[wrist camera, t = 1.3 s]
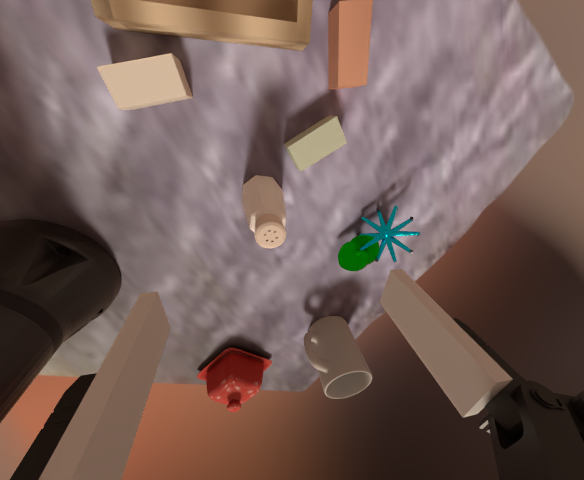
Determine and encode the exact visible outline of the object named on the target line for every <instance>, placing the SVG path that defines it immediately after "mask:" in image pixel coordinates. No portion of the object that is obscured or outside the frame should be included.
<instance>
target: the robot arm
mask: <svg viewBox="0 0 584 480" xmlns="http://www.w3.org/2000/svg"><path fill="white" fill-rule="evenodd" d="M120 287H121V276H120V272H119V269H118V267H117V265H116V264H115V262H114V260H113V259H112V258H111V257H110V255H109V254H108V253H107V252H106V251H105V250H104V249H103V248H101V247H100V246H99V245H98V244H96V243H95V242H93V241H92V240H90V239H89V238H87V237H85V236H83V235H81V234H79V233H77V232H75V231H73V230H70V229H68V228H65V227H62V226H59V225H56V224H52V223H47V222H42V221H35V220H8V221H2V222H0V423H1V421H2V420H3V419H4V418H5V416H6V415H7V414H8V412H9V411H10V410H11V409H12V407H13V406H14V405H15V403H16V402H17V401H18V400H19V398H20V397H21V396H22V394H23V393H24V392H25V390H26V389H27V388H28V386H29V385H30V384H31V383H32V382H33V380H34V379H35V378H36V376H37V375H38V374H39V373H40V371H41V370H42V369H43V367H44V366H45V365H46V364H47V362H48V361H49V360H50V358H51V357H52V356H53V354H54V353H55V352H56V350H57V349H58V348H59V347H60V345H61V344H62V343H63V342H64V341H66V340H67V339H68V338H70V337H71V336H72V335H74V334H75V333H77V332H78V331H79V330H81V329H82V328H83V327H85V326H86V325H87V324H88V323H89V322H90V321H92V320H94V319H95V318H97V317H98V316H100V315H101V314H102V313H103V312H105V311H106V309H107V308H108V307H109V306H110V305H111V303H112V302H113V300H114V299H115V297H116V296H117V294H118V293H119V290H120ZM380 303H381V305H382V306H383V307H384V309H385V310H386V312H387V313H388V314H389V316H390V317H391V319H392V320H393V321H394V323H395V324H396V325H397V327H398V328H399V330H400V331H401V332H402V334H403V335H404V337H405V338H406V339H407V341H408V342H409V344H410V345H411V346H412V348H413V349H414V350H415V352H416V353H417V355H418V356H419V357H420V358H421V360H422V362H423V363H424V364H425V366H426V367H427V368H428V370H429V371H430V372H431V374H432V375H433V377H434V378H435V380H436V381H437V382H438V384H439V385H440V387H441V388H442V389H443V391H444V392H445V394H446V395H447V396H448V398H449V399H450V400H451V402H452V403H453V404H454V406H455V407H456V409H457V410H458V411H459V413H460V414H461V416H462V417H467V416H471V415H475V414H478V413H479V412H480V411H481V410H482V409H483V408H484V407H485V408H486V409H487V410H488V411H489V414H488V415H487V416H485V417H484V418H483V420H481V421H480V422H479V428H481V429H483V428H484V427H485V426H486V425H487V424H489V428H488V429H487V432H488V433H490V434H491V439H492V445H493V450H494V455H495V460H496V465H497V471H498V476H499V480H584V391H582V392H581V393H579V394H578V395H577V396H568V395H563V394H557V393H553V392H552V391H550V390H549V389H548V388H546V387H544V386H543V385H541V384H539V383H536V382H533V381H526V380H525V379H524V378H522V377H521V376H520V375H519V374H518V373H517V372H516V371H515V370H514V369H513V368H512V367H510V366H509V365H508V364H507V363H506V362H505V361H504V360H503V359H502V358H501V357H500V356H499V355H498V354H497V353H496V352H495V351H494V350H493V349H491V348H490V347H489V346H488V345H486V343H485V342H484V341H483V340H482V339H481V338H480V337H478V335H477V334H476V333H475V332H474V331H473V330H472V329H471V328H470V327H468V326H467V325H466V324H464V323H463V322H461V321H460V320H458V319H456V318H454V319H452V318H451V317H450V316H449V315H448V314H447V313H446V312H445V311H444V310H443V309H442V308H441V307H439V305H438V304H437V303H436V302H434V300H432V298H430V296H429V295H427V294H426V293H425V292H424V291H423V290H422V289H421V288H420V287H419V286H418V285H417V284H416V283H415V282H414V281H413V280H412V279H411V278H410V277H409V276H408V275H407V274H406V273H405V272H404V271H403V270H402V269H396V270H391V271H390V274H389V276H388V279H387V282H386V285H385V288H384V291H383V294H382V297H381V300H380ZM169 331H170V325H169V322H168V320H167V317H166V314H165V311H164V308H163V305H162V302H161V300H160V297H159V294H158V292H151V293H141V294H140V296H139V298H138V300H137V301H136V303H135V305H134V307H133V309H132V310H131V312H130V314H129V316H128V318H127V320H126V321H125V323H124V325H123V327H122V329H121V331H120V332H119V334H118V336H117V338H116V340H115V341H114V343H113V345H112V347H111V349H110V351H109V352H108V354H107V356H106V358H105V360H104V361H103V363H102V365H101V367H100V369H99V371H98V372H97V373H96V374H89V375H83V376H80V377H79V378H78V379H77V380H76V381H75V382H74V383H73V384H72V385H71V386H70V387H69V388H68V389H67V390H66V391H65V393H64V394H63V396H62V398H61V399H60V401H59V402H58V404H57V405H56V407H55V409H54V412H53V413H51V415H50V417H49V418H48V420H47V421H46V423H45V425H44V428H43V429H41V431H40V432H39V434H38V436H37V437H36V439H35V440H34V442H33V444H32V445H31V447H30V448H29V450H28V452H27V453H26V455H25V456H24V458H23V460H22V461H21V463H20V464H19V466H18V467H17V469H16V471H15V472H14V474H13V476H12V477H11V479H10V480H121V479H122V475H123V472H124V469H125V466H126V463H127V460H128V457H129V454H130V451H131V448H132V445H133V442H134V438H135V436H136V432H137V429H138V426H139V423H140V420H141V417H142V414H143V411H144V408H145V405H146V402H147V399H148V395H149V393H150V389H151V386H152V383H153V380H154V377H155V374H156V371H157V368H158V365H159V362H160V359H161V356H162V353H163V350H164V346H165V343H166V340H167V337H168V334H169Z"/></svg>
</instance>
